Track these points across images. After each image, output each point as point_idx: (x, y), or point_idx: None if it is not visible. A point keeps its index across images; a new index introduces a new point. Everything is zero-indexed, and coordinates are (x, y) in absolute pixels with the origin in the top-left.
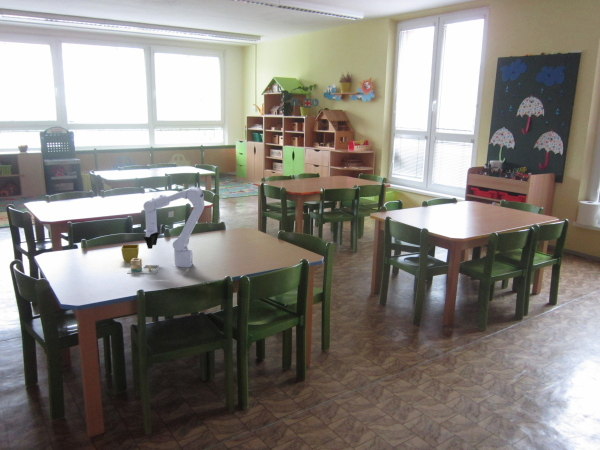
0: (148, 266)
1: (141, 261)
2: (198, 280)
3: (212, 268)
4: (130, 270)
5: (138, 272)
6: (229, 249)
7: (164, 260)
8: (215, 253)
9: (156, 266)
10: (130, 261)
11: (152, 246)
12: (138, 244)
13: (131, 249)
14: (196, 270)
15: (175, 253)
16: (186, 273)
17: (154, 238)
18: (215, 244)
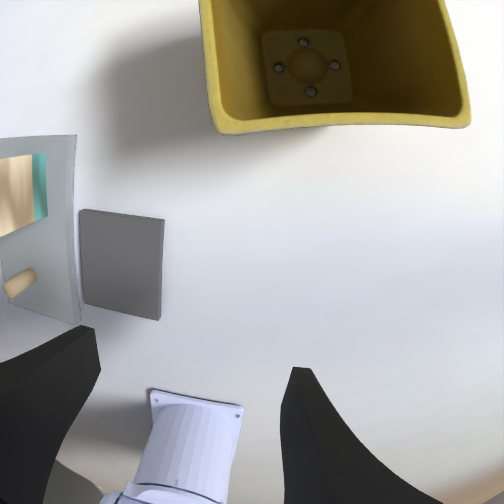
0: (126, 248)
1: (5, 233)
2: None
3: None
4: (25, 142)
5: None
6: None
7: (324, 339)
8: None
9: (131, 306)
10: (253, 64)
11: (86, 392)
12: (455, 123)
13: (204, 38)
14: (128, 454)
15: (144, 469)
16: (80, 421)
17: (293, 482)
18: (494, 454)
